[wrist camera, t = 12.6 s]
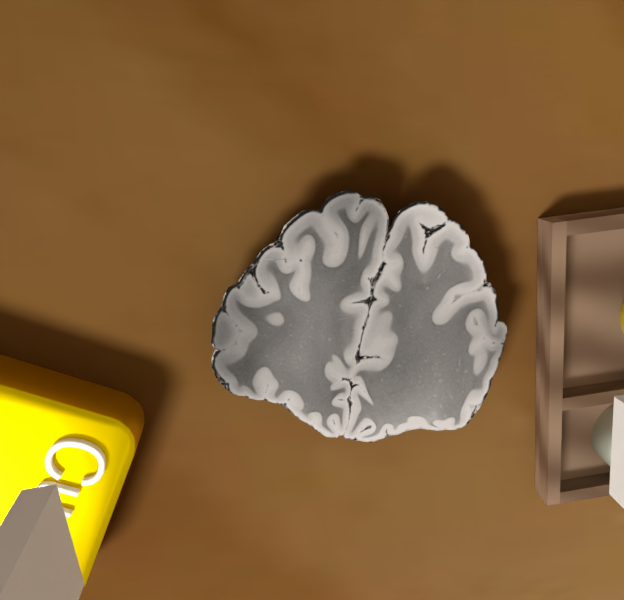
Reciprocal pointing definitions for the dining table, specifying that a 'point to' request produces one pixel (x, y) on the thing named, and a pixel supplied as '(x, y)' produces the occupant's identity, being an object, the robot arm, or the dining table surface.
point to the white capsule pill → (603, 435)
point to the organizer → (577, 348)
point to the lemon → (622, 316)
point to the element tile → (66, 446)
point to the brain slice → (363, 321)
